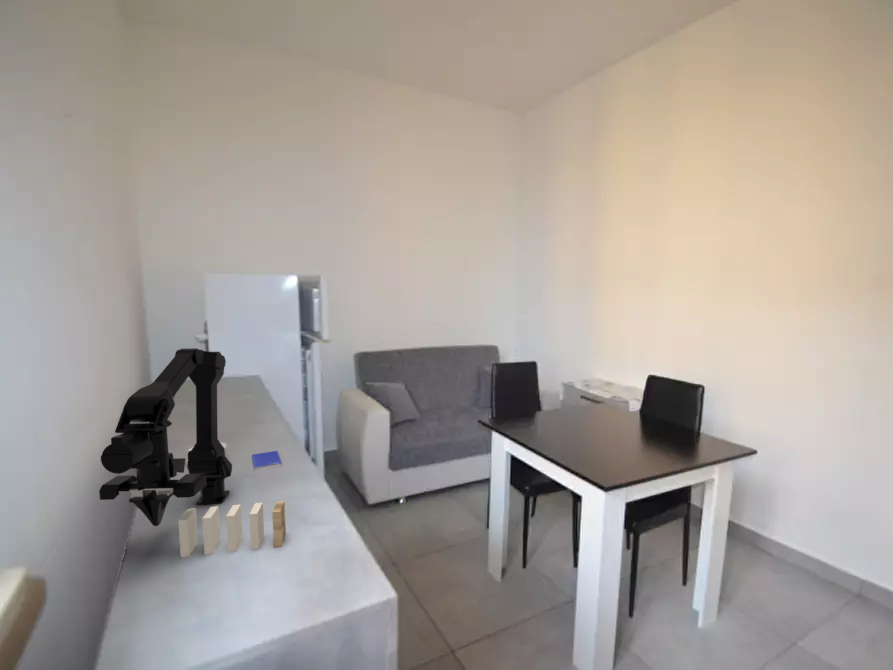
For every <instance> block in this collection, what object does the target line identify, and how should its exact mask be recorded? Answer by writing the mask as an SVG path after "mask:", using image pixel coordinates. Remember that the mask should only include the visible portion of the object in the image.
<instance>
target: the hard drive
mask: <svg viewBox="0 0 893 670" xmlns="http://www.w3.org/2000/svg"><path fill="white" fill-rule="evenodd" d="M251 460H252V465H253V466H252V467H253V470H256V471H259V470H258V469H262V470H264V469H263V468H267V469H272V468H271V467H273V468H276V467H275V466H279V467H282V466H283V462H282V458H281V457H280V455H279V452H278V451H277V450H273V451H267V452H266V451H265V452H261V453H254V454H252V455H251ZM281 465H282V466H281Z"/></svg>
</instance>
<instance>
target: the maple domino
mask: <svg viewBox="0 0 893 670" xmlns="http://www.w3.org/2000/svg"><path fill="white" fill-rule="evenodd" d="M285 505H286V503H285V500H277V501H276V503H275V506H274V508H273V510H272V513H271V514H272V532H273V533H272V536H273V537H272V538H273V548H282V547H283V544H284V542H285V537H286V535H287V533H286V530H287V529H286V528H287V527H286V506H285Z"/></svg>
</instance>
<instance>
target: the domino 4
mask: <svg viewBox="0 0 893 670" xmlns="http://www.w3.org/2000/svg"><path fill="white" fill-rule="evenodd" d="M263 504H264V503H263V502H256V503H254V504H253V506H252V508H251V510H250V513H249V515H248V516H249V517H248V518H249V533H250V534H249V535H250V550H251V551H253V550H254V551H255V550H259V549H260V547H261V545H262V543H263V540H264V538H265V523H264V505H263Z"/></svg>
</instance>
